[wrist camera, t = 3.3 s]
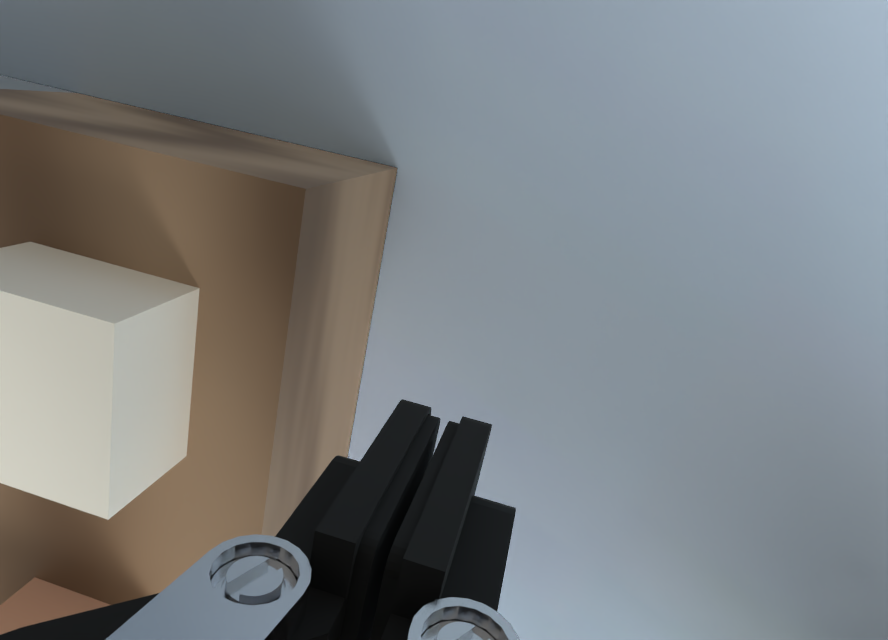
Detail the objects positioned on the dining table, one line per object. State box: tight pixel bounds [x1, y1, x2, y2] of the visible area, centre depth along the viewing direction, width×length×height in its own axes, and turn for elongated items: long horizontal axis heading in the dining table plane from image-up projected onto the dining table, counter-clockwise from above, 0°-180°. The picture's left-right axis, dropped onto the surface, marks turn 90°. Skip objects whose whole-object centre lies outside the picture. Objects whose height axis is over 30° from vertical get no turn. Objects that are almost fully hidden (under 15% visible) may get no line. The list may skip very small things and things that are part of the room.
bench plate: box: [0, 89, 397, 605], centre depth 19 cm, size 10×18×6 cm, turn 169°
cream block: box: [0, 242, 200, 520], centre depth 13 cm, size 4×4×2 cm
